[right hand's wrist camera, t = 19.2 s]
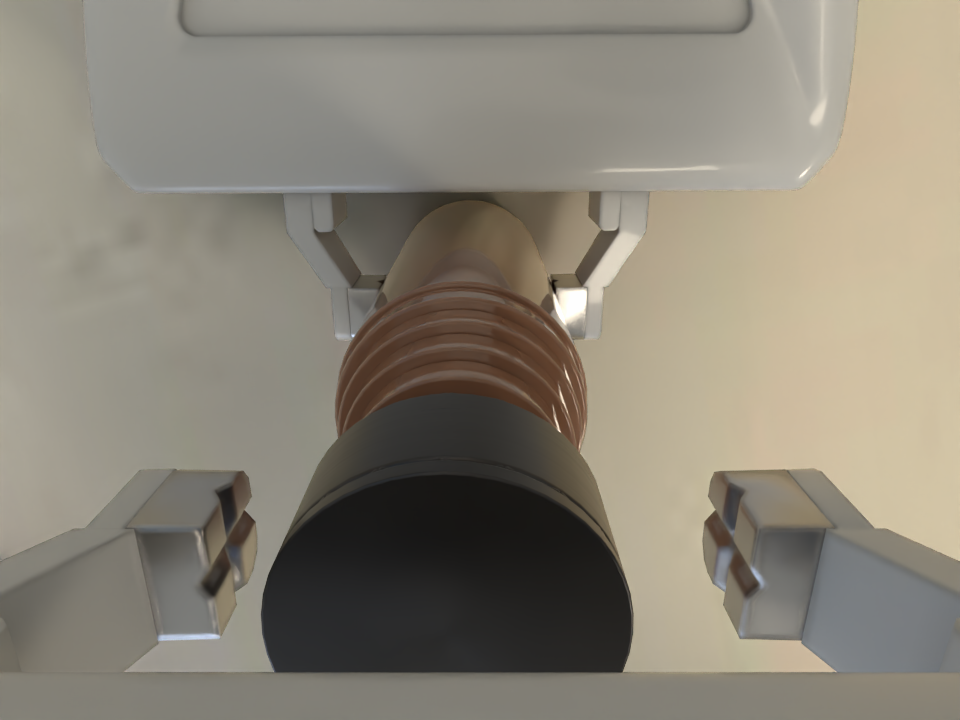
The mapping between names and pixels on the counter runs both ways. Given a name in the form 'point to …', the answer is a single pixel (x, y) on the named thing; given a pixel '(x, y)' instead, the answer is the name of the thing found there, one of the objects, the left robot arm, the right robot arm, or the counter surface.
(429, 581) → the cap
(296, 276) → the counter surface
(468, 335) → the bottle
